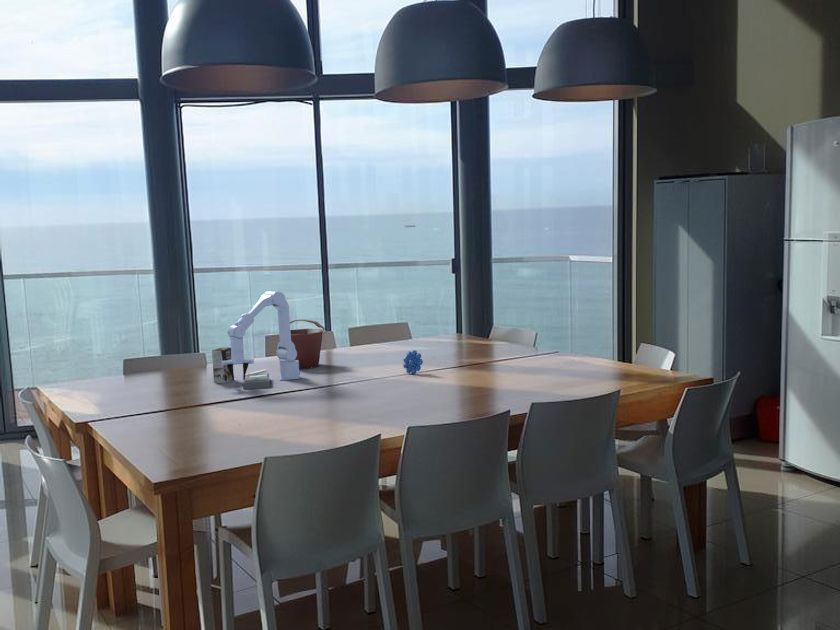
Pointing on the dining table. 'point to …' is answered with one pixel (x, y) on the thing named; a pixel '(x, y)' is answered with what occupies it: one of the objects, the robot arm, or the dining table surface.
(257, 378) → the rocker
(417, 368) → the blue lobed wheel
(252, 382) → the switch panel
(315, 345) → the bucket
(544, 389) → the dining table surface
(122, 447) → the dining table surface
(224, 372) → the coffee box
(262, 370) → the rocker
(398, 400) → the dining table surface
